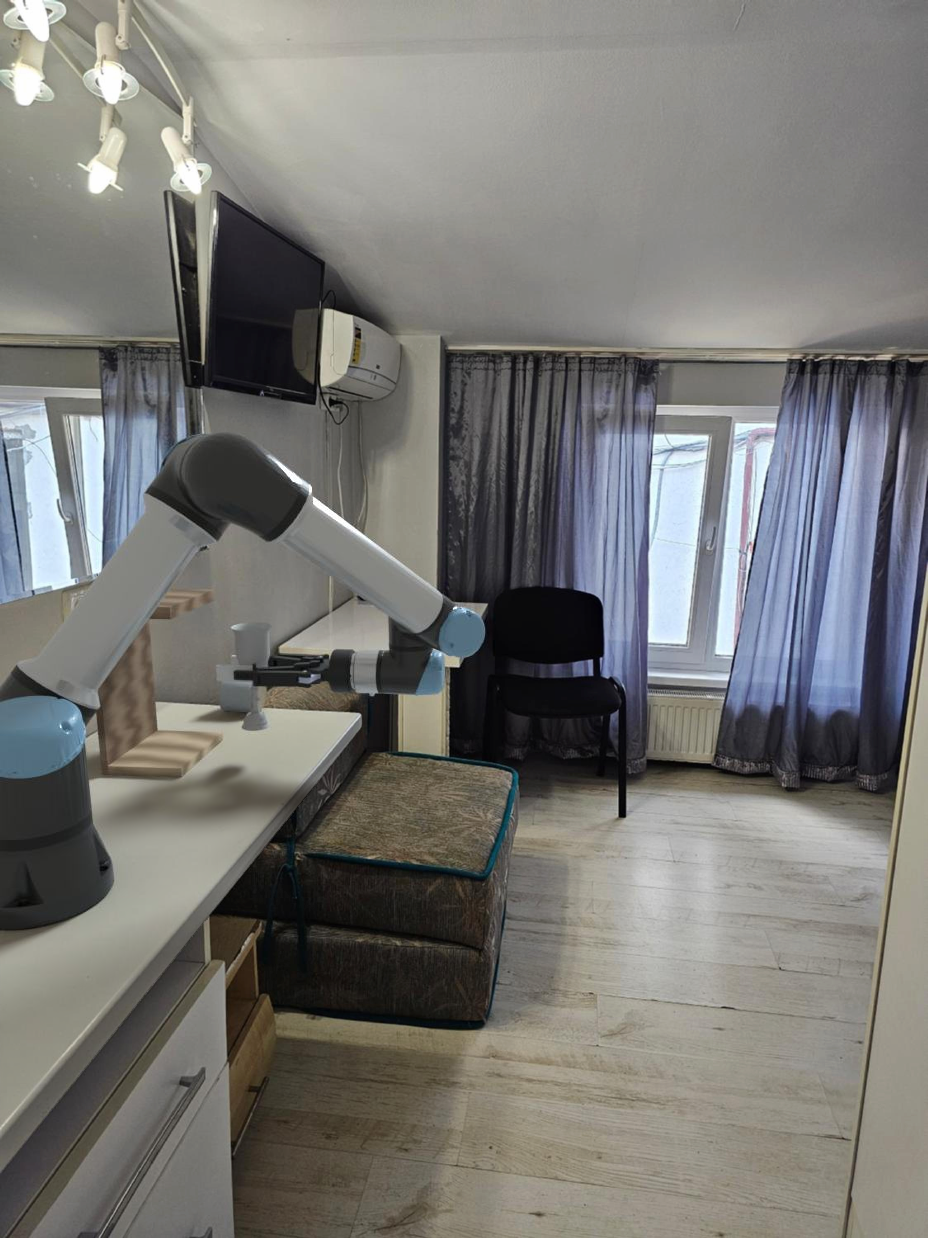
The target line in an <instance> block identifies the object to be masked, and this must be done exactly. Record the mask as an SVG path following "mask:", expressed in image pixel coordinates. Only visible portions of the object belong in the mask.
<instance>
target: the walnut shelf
mask: <svg viewBox="0 0 928 1238" xmlns="http://www.w3.org/2000/svg"><path fill="white" fill-rule="evenodd" d="M215 600H216V599H215V589H199V588H198V589H197V588H196V589H195V588H193V589H192V588H191V589H190V588H187V589H186V588H185V589H183V588H170V590H169V591H168V592H167V594H166V595H165V597H164V598H163V599H162V601H161V602H160V604H159V605H158V606H157V608H156V609H155V611H154V612H153V613H152V615H151V616H150V618H149V619H148V620H147V622H146V623H145V625H144V626H143V627H142V629H141V630H140V632H139V633H138V634H137V636H136V637H135V639H134V640H133V641H132V643H131V644H130V646H129V647H128V648H127V650H126V651H125V652H124V654H123V655H122V657H121V658H120V659H119V661H118V662H117V664H116V665H115V666H114V668H113V669H112V671H111V672H110V673H109V675H108V676H107V678H106V679H105V680H104V682H103V683H102V685H101V686H100V687H99V689H98V697H99V702H100V707H99V709H98V710H97V712H96V713H95V715H96V716H95V717H96V724H97V728H96V729H97V736H98V746H99V747H98V748H99V749H98V750H99V757H100V769H101V775H116V776H117V775H119V776H120V775H121V776H122V775H123V776H143V777H144V776H147V777H176V778H178V777H179V778H182V777H184V776H185V775H186V774H187V773H188V772H189V771H190V770H192V768H194V766H196V765H197V764H198V763H199V762H200V761H201V760H202V759H203V758H205V757H206V755H208V754H209V753H210V752H211V751H212V750H213V749H214V748H216V747H217V746H218V745H219V744H220V743H221V742H222V741H223V740H224V737H223V736H224V735H223V734H224V733H223V731H197V730H196V731H195V730H193V731H192V730H167V729H165V730H164V729H163V730H161V729H158V720H157V719H158V717H157V707H156V706H157V705H156V703H157V702H156V693H155V692H156V691H155V690H156V689H155V680H154V665H153V655H152V653H153V652H152V642H151V641H152V640H151V627H150V625H151V624H150V620H172V619H175V618H177V617H180V616H182V615H185V614H186V613H189V612H192V611H194V610H195V609H198V608H200V607H203V606H205V605H207V604H210V603H212V602H214V601H215Z"/></svg>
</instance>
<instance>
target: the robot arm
mask: <svg viewBox="0 0 928 1238" xmlns="http://www.w3.org/2000/svg"><path fill="white" fill-rule="evenodd" d="M142 499H143V504H144V513H143V514H142V515H141V516H140V518H139V519H138V521H137V522H136V523H135V525H134V526H133V528H132V529H131V530H130V532H129V533H128V534H127V536H126V537H125V539H123V541H122V542H121V544H120V545H119V546H118V548H117V549H116V550H115V552H114V553H113V554H112V556H111V557H110V558H109V560H108V561H107V563H106V564H105V565H104V567H103V568H102V569H101V571H100V572H99V574H98V575H97V576H96V577H95V579H94V580H93V582H92V583H91V584H90V585H89V587H88V588H87V590H86V591H85V593H84V594H83V595H82V596H81V598H80V599H79V600H78V602H77V603H76V604H75V606H74V607H73V609H72V610H71V611H70V613H69V614H68V615H67V617H66V618H65V620H64V621H63V622H62V623H61V625H60V626H59V627H58V629H57V630H56V632H55V633H54V635H52V637H51V638H50V640H49V641H48V643H47V644H46V645H45V646H44V648H43V649H42V651H41V652H40V653H39V655H38V656H36V657H33V658H29V659H24V660H20V661H18V663H16V665H15V666H14V668H13V669H12V671H11V672H10V673H9V674H8V676H7V677H6V678H5V680H4V681H3V682H2V683H1V684H0V930H22V929H30V928H36V927H42V926H46V925H49V924H54V923H57V922H60V921H64V920H66V919H70V918H71V917H73V916H76V915H78V914H80V913H83V912H84V911H86V910H88V909H90V908H91V907H93V906H94V905H96V904H97V903H99V902H100V901H101V900H103V899H104V898H105V897H106V896H107V895H108V893H109V892H110V891H111V890H112V888H113V887H114V884H115V875H114V874H115V872H114V864H113V861H112V857H111V856H110V854H109V852H108V850H107V848H106V846H105V844H104V842H103V840H102V839H101V837H100V834H99V832H98V830H97V829H96V826H95V823H94V819H93V811H92V810H93V809H92V808H93V807H92V798H91V797H92V796H91V790H90V779H89V770H88V769H89V768H88V759H87V747H86V739H87V726H88V725H89V723H90V722H91V720H92V719H93V718H94V716H95V715H96V712H97V710H98V709H99V707H100V702H99V697H98V689H99V687H100V686H101V685H102V683H103V682H104V680H105V679H106V678H107V676H108V675H109V673H110V672H111V671H112V669H113V668H114V666H115V665H116V664H117V662H118V661H119V659H120V658H121V657H122V655H123V654H124V652H125V651H126V650H127V648H128V647H129V646H130V644H131V643H132V641H133V640H134V639H135V637H136V636H137V634H138V633H139V632H140V630H141V629H142V627H143V626H144V625H145V623H146V622H147V620H148V619H149V618H150V616H151V615H152V613H153V612H154V611H155V609H156V608H157V606H158V605H159V604H160V602H161V601H162V599H163V598H164V597H165V595H166V594H167V592H168V591H169V590H170V589H172V587H173V585H174V584H175V583H176V581H177V580H178V579H179V577H180V576H181V574H182V573H183V572H184V570H185V569H186V567H187V566H188V565H189V563H190V562H191V560H192V559H193V558H194V556H195V555H196V553H197V552H198V550H200V549H201V548H203V547H208V546H214V545H216V544H217V543H219V541H220V539H221V538H222V536H223V535H224V534H225V532H226V531H227V529H228V528H229V526H230V525H231V524H233V525H235V526H238V527H241V528H242V529H245V530H247V531H248V532H251V533H252V534H254V535H256V536H258V537H259V538H260V539H261V540H263V541H265V542H266V543H268V544H273V543H280V544H283V545H284V547H286V548H288V549H290V550H291V551H292V552H294V553H296V554H297V555H298V556H299V557H301V558H302V559H304V560H306V561H307V562H309V563H310V564H312V566H315V567H316V568H317V569H319V570H321V571H322V572H323V573H325V574H326V575H328V577H330V578H332V579H334V580H335V581H336V582H338V583H339V584H341V585H343V586H344V587H345V588H347V589H348V590H349V591H351V592H353V593H354V594H355V595H357V596H358V597H360V598H362V599H363V600H364V601H366V602H367V603H369V604H370V605H371V606H373V607H374V608H376V609H378V610H379V611H380V612H381V613H384V614H385V616H387V619H388V621H387V623H388V626H387V627H388V649H387V650H381V649H364V648H363V649H358V650H357V651H356V650H354V649H353V648H352V649H350V648H349V649H347V648H346V649H345V648H344V649H343V648H335V649H334V650H332V652H331V653H330V654H328V653H324V654H311V653H309V654H307V653H290V652H289V653H284V652H283V653H282V652H277V653H275V654H274V655H273V654H272V655H271V654H270V655H269V659H268V662H267V665H266V667H260V668H258V667H256V663H255V664H252V666H250V665H239V663H238V660H237V658H236V654H234V655H233V654H232V655H231V656H230V663H231V664H216V665H215V672H216V673H215V674H216V681H217V682H222V681H231V682H253V686H256V687H258V686H263V687H266V688H267V687H275V688H276V687H281V688H283V687H285V688H286V687H287V688H288V687H289V688H293V687H294V688H296V687H297V688H304V689H310V688H312V686H313V685H321V683H325V682H327V683H328V684H329V688H330V690H331V691H332V692H333V693H340V694H343V693H344V694H352V693H353V692H354V691H355V693H358V694H368V695H369V696H370V697H374V696H375V694H381V695H382V694H384V695H385V694H386V695H387V694H389V695H404V696H405V695H408V696H416V697H417V696H432V695H433V696H435V695H439V694H440V693H441V692H442V691H443V690H444V686H445V681H446V663H445V662H446V661H445V660H446V658H445V655H446V656H448V657H455V658H458V659H459V658H460V659H462V658H463V659H464V658H468V657H470V656H473V655H474V654H475V653H476V652H478V651H479V649H480V648H481V646H482V644H483V643H484V640H485V636H486V627H485V623H484V621H483V619H482V617H481V616H480V615H479V614H478V613H477V612H475V611H473V610H471V609H470V608H468V607H465V606H460V605H458V604H457V603H455V602H454V601H452V600H451V599H450V598H449V597H447V596H446V595H445V594H443V593H441V592H440V591H439V590H438V589H437V588H435V587H434V586H433V585H431V583H429V582H427V581H426V580H424V579H423V578H422V577H421V576H419V575H418V574H416V573H415V572H414V571H412V569H410V568H409V567H407V566H406V565H405V564H403V563H402V562H401V561H399V560H398V559H397V558H395V557H394V556H393V555H391V554H390V553H388V551H386V550H385V549H383V548H382V547H381V546H380V545H378V544H377V543H375V542H374V541H373V540H371V539H370V538H368V536H366V535H365V534H363V533H362V532H361V531H359V529H357V528H355V527H354V526H353V525H351V524H350V523H349V522H348V521H347V520H345V519H343V518H342V517H341V516H340V515H338V514H337V513H335V512H334V511H333V510H332V509H330V508H329V507H328V506H326V505H325V504H323V503H322V502H321V501H320V500H318V498H316V497H314V495H313V490H312V486H311V484H309V482H307V481H306V480H304V479H303V478H302V477H301V476H299V475H298V474H297V473H295V472H294V471H293V470H292V469H291V468H289V467H288V466H287V464H284V463H283V462H282V461H281V460H279V458H277V457H276V456H275V455H273V454H272V453H271V452H270V451H268V450H267V449H266V448H264V447H263V446H262V445H260V444H259V443H258V442H256V441H254V440H253V439H251V438H249V437H247V436H246V435H242V434H240V433H236V432H230V431H228V432H227V431H219V432H218V431H217V432H214V433H198V434H192V435H190V436H186V437H184V438H183V439H180V440H179V441H177V442H176V443H175V444H174V445H173V446H171V447H170V448H169V449H168V451H167V452H166V453H165V455H164V457H163V460H162V461H161V464H160V468H159V472H158V473H157V475H156V476H155V477H154V479H153V481H152V482H151V483H150V484H149V486H148V487H147V488H146V489H145V490H144V493H143V494H142ZM149 620H150V619H149Z"/></svg>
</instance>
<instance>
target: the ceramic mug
mask: <svg viewBox="0 0 928 1238" xmlns="http://www.w3.org/2000/svg"><path fill="white" fill-rule="evenodd" d="M220 682H221V683H220V684H219V689H218V704H219V707H220V709H221V710H222V711H224V712H236V713H237V712H238V713H250V712H251V710H252V709H253V705H252V702H251V701H250V699H251V698H252V692H251V691H250V689H251V686H252V682H231V681H220ZM258 688H259V690H258V693H257V695H258V698H259V699H260V700H259V702H258V709H259V710H260V711H261V710H262V709H264V706H265V704H266V702H267V696H268V695H267V693H268V692H267V687H263V686H258Z"/></svg>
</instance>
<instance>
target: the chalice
mask: <svg viewBox="0 0 928 1238" xmlns="http://www.w3.org/2000/svg"><path fill="white" fill-rule="evenodd" d="M272 627H273V625H272V624H270V623H267V622H266V623H265V622H242V623H238V624H235V625H231V627H230V629H231V631H232V632H233V634H234V651H235V654H234V655H236V658H237V660H238V663H239V665H250V666H252V664H255V663H256V667H258V668H260V667H266V665H267V662H268V659H269V656H271V648H270V647H271V646H270V645H271V643H270V632H271V629H272ZM258 690H259V688H258V687H256V686H253V682H252V686H251V689H250V691H251V692H252V698H251V699H250V701H251V702H252V705H253V709H252V710H251V712H250V713H249V712H247V714H246V715H245V716H244V720H243V723H242V725H241V729H242V730H244V731H248V732H250V731H251V732H255V731H257V732H259V731H263V730H267V729H269V728H270V727H271V726H272V725H271V723H270V720H269V718H268V717H267V714H266V713H265V712H264V711H261V710H259V709H258V702H259V700H260V699H259V698H258V695H257V693H258Z"/></svg>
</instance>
